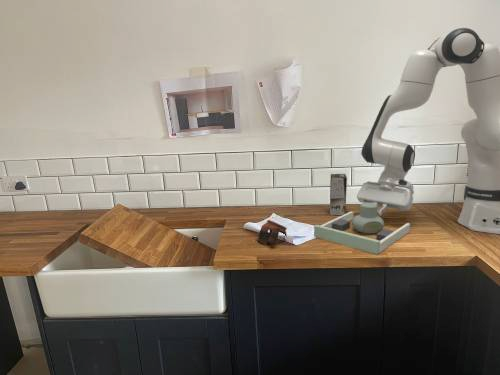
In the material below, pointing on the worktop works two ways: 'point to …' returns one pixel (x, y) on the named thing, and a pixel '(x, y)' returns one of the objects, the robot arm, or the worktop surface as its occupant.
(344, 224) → the blocks
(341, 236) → the frame
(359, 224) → the air freshener
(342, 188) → the coffee box
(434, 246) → the worktop surface
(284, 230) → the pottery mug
